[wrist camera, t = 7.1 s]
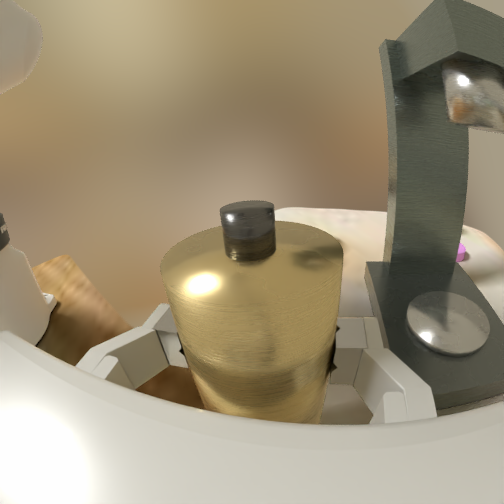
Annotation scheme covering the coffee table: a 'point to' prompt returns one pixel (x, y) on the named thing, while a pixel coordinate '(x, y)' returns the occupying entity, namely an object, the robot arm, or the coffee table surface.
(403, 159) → the press
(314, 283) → the bottle
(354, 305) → the coffee table surface
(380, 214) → the coffee table surface
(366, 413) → the coffee table surface
